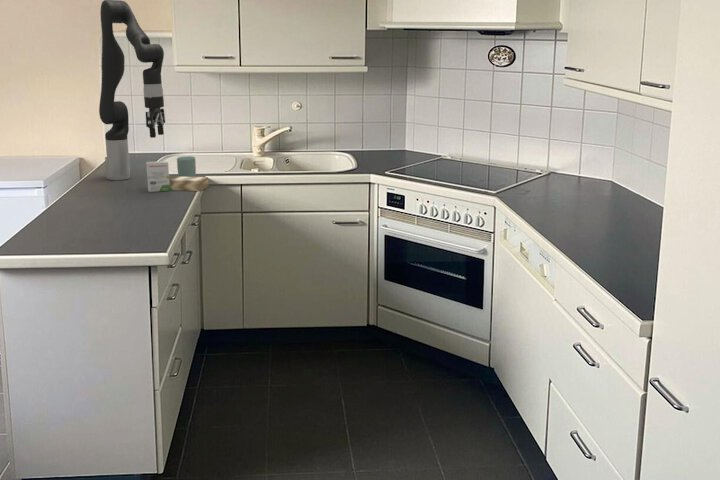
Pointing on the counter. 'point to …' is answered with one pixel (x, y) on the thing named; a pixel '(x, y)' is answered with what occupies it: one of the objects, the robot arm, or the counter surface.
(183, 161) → the cup
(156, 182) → the ink box
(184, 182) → the plinth
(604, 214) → the counter surface
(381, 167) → the counter surface
